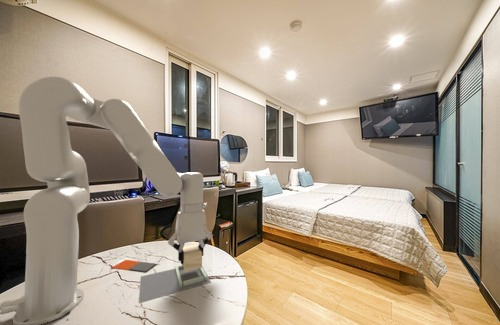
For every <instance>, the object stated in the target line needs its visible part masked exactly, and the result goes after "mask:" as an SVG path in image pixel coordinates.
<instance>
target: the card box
mask: <svg viewBox="0 0 500 325" xmlns="http://www.w3.org/2000/svg"><path fill="white" fill-rule="evenodd" d="M198 246H199V244H197V243H196V244H195V243H194V244H189V245H186V246H185V245H184V247H183V251H184V262H183V264H181V265H182V266H183V269H184V271H185V272H187V271H191V270H195V269H199V268H202V267H203V256H202V252H201V250H200V249H199V247H198Z"/></svg>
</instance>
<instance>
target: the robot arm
mask: <svg viewBox="0 0 500 325" xmlns="http://www.w3.org/2000/svg"><path fill="white" fill-rule="evenodd" d="M18 100H19V102H18V114H19V121H20V127H21V134H22V135H21V136H22V144H23V146H22V147H23V154H24V161H25V162H24V163H25V169H26V172H27V174H28V175H29V177H30V178H32V179H34V180H36V181H39V182H42V183H47V184H46V185H47V188H45V189H42V190H40V191H38V192H35V193H34V194H33V195H32V196H30V198H29V199H28V200H27V202H26V203H25V206H24V209H23V220H24V225H25V232H26V249H25V254H26V256H25V276H24V294H23V295H21V297H19V298H12V299H8V300H7V299H6V300H3V301H2V302H1V303H0V315H5V314H6V315H7V314H10V313H13V312H15V313H14V315H13V318H12V325H41V324H42V325H45V324H47V322H48V323H50V322H52V321H54V320H58V319H60V318H62V317H63V316H65V315H66V314H69V313H70V312H72V310H74V309H75V308H76V307H78V306H79V305H80V304H81V303H82V301H83V300H84V297H85V296H84V295H85V292H84V291H83V290H82V289H81V288H80V289H79V288H78V267H79V266H78V265H79V248H80V247H79V243H80V242H79V240H80V233H79V232H80V229H79V222H78V214H79V213H81V212H83V211H84V210H85V209H86V208H87V206H88V205H89V203H90V199H91V196H90V194H91V193H90V186H89V176H88V170H87V164H86V160H85V159H84V158H83V156H82V155H81V154H80V153H78V152H77V151H75V150H73V148H72V145H71V137H70V135H71V134H70V130H69V126H68V123H67V117H68V118H69V119H72V120H75V121H79V122H82V123H85V124H89V125H92V126H96V127H100V128H103V129H107V130H110V131H111V133H112V134H113V135H114V136H115V137H116V139H117V140H118V142H120V144H121V145H122V147H123V148H124V149H125V151H126V152H127V154H128V155H129V156H130V158H131V159H132V160H133V161H134V162H135V164H136V165H138V167H139V169H141V171H142V172H143V174H144V175H145V176H146V178H147V179H148V180H149V182H150V183H151V185H152V187H154V189H155V190H156V191H157V192H158V193H159V195H161V196H163V197H167V198H171V197H175V196H177V195H178V194H179V193H180V209H179V210H180V211H178V212H177V215H176V221H175V230H174V233H173V234H172V236H170V238H169V239H168V240H167V244H168V245H169V246H171V247H173V249H175V250H176V251H178V252H177V253H178V255H177V256H178V257H177V258H178V262H180V265H182V264H183V262H184V251H183V247H184V246H185V244H187V243H192V242H193V243H194V242H198V247H199V249H200V250H201V252H202V257H203V256H204V248H206V247H205V246H206V245H207V243H208V242H209V241H210V240H211V239H212V237H213V236H214V234H213V233H211V231H210V230H209V229H208V228H207V216H206V211H205V210H204V208H207V207H208V204H207V202H206V203H205V202H204V175H203V173H201V172H196V171H195V172H190V171H189V172H183V173H181V172H178V171H177V170H176V168H175V167H174V166H173V165H172V163H171V162H170V160H169V159H168V158H167V156H166V155H165V153H164V151H162V149H161V147H160V145H159V144H158V142H157V141H156V140H155V139H154V136H152V133H150V131H149V130H148V128H147V127H146V126H145V124H144V123H143V121H142V120H141V119H140V118H139V116H138V115H137V113H136V112H135V111H134V109H133V108H132V106H131V105H130V104H129V103H128V102H126V101H125V100H123V99H121V98H110V99H107V100H105V101H102V100H99V99H97V98H93V97H91V96H90V95H89V94H88V93H87V92H86V91H85V90H84V89H83V88H82V87H81V86H80V85H78V84H77V83H75V82H73V80H70V79H67V78H64V77H60V76H47V77H46V76H45V77H42V78H39V79H37V80H34V81H33V82H30V84H28V85H27V86H26V87H25V88H24V89H23V91H22V92H21V94H20V97H19V99H18ZM175 240H176V242H175ZM44 323H45V324H44Z"/></svg>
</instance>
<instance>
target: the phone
mask: <svg viewBox="0 0 500 325" xmlns="http://www.w3.org/2000/svg"><path fill="white" fill-rule="evenodd" d="M156 266H158V263H152V262H145V261H137V260H127V259H124V260H123V261H121V262H118V263H117V264H116V265H113V266H112V267H111V268H110V269H111V270H114V269H116V270H123V271H131V272H137V273H143V274H148V272H150V271H151V270H152V269H154V268H155V267H156Z"/></svg>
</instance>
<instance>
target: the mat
mask: <svg viewBox="0 0 500 325" xmlns="http://www.w3.org/2000/svg"><path fill="white" fill-rule="evenodd" d="M139 282H140V283H139V295H138V296H139V298H138V304H141V303H144V302H147V301H148V302H149V301H152V300H155V299H158V298H162V297H165V296H168V295H169V296H170V295H172V294H175V293H176V294H177V293H180V292H183V291H186V290H189V289H193V288H196V287H201V286H204V285H207V284H211V283H212V281H211V279H210V278H209V276H208V274H207V272H206V270H205V268H204V266H202V268H199V269H195V270H191V271H187V272H185V271H184V269H183V266H182V264H179V265H175V266H174V268H172V269H168V270H164V271H163V270H162V271H159V272H155V273H150V274H147V275H142V276H140V281H139Z"/></svg>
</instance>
